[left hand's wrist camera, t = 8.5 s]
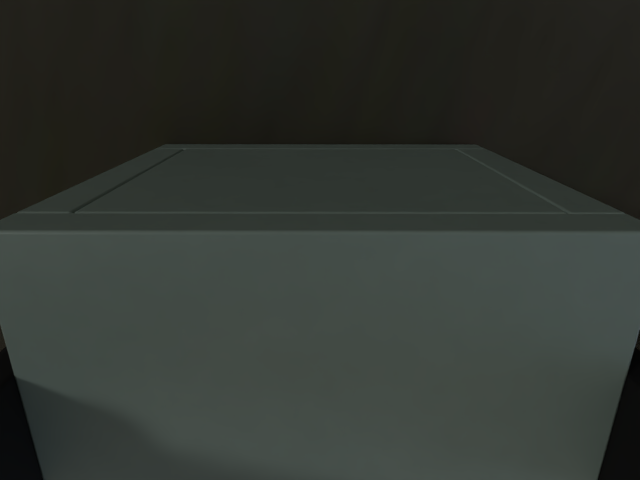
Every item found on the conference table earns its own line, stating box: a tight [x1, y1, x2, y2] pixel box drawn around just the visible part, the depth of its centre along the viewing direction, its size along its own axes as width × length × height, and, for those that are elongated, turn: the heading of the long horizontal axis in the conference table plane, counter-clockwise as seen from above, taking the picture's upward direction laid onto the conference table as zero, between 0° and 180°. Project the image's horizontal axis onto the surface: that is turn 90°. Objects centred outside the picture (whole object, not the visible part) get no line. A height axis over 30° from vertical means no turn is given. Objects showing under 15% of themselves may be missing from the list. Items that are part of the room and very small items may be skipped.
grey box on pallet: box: [0, 144, 640, 480], centre depth 15 cm, size 17×12×10 cm, turn 0°
